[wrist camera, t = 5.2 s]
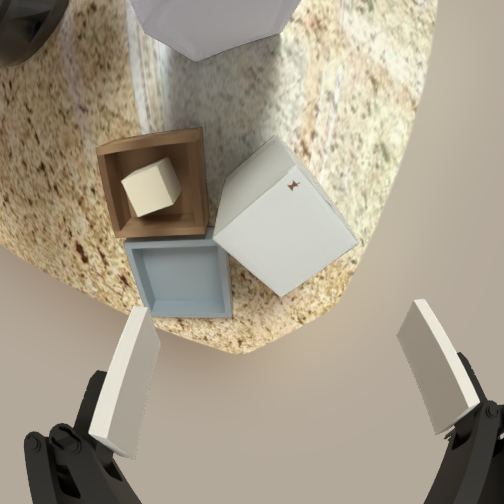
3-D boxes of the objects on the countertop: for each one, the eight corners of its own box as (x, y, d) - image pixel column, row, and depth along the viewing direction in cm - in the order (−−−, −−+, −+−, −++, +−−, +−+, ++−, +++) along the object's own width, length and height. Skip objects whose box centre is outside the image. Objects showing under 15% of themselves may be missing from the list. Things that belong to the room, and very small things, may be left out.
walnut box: (128, 221, 30) (115, 238, 27) (113, 140, 25) (95, 148, 21) (209, 216, 30) (204, 234, 27) (201, 127, 25) (194, 132, 21)
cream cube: (150, 201, 28) (138, 217, 25) (136, 169, 26) (121, 181, 23) (182, 189, 28) (173, 204, 24) (168, 155, 26) (156, 165, 22)
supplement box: (222, 178, 28) (206, 237, 17) (276, 132, 25) (299, 160, 15) (268, 224, 31) (279, 301, 20) (320, 184, 28) (363, 244, 18)
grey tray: (153, 301, 37) (147, 316, 35) (132, 230, 31) (123, 242, 28) (232, 301, 37) (232, 317, 35) (226, 225, 31) (224, 238, 28)
